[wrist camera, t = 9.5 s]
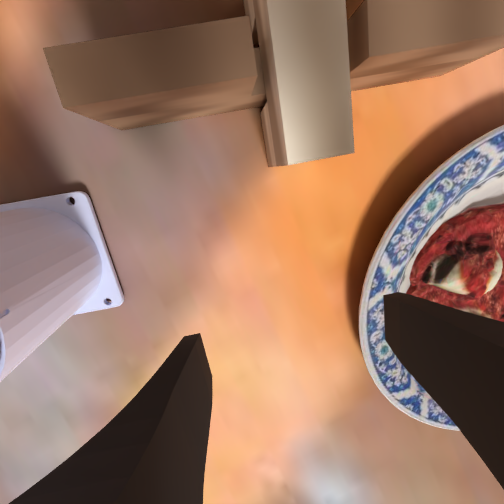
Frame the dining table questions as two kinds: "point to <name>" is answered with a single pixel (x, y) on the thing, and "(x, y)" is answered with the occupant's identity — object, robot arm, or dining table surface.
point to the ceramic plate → (438, 262)
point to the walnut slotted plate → (249, 60)
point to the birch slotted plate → (303, 78)
